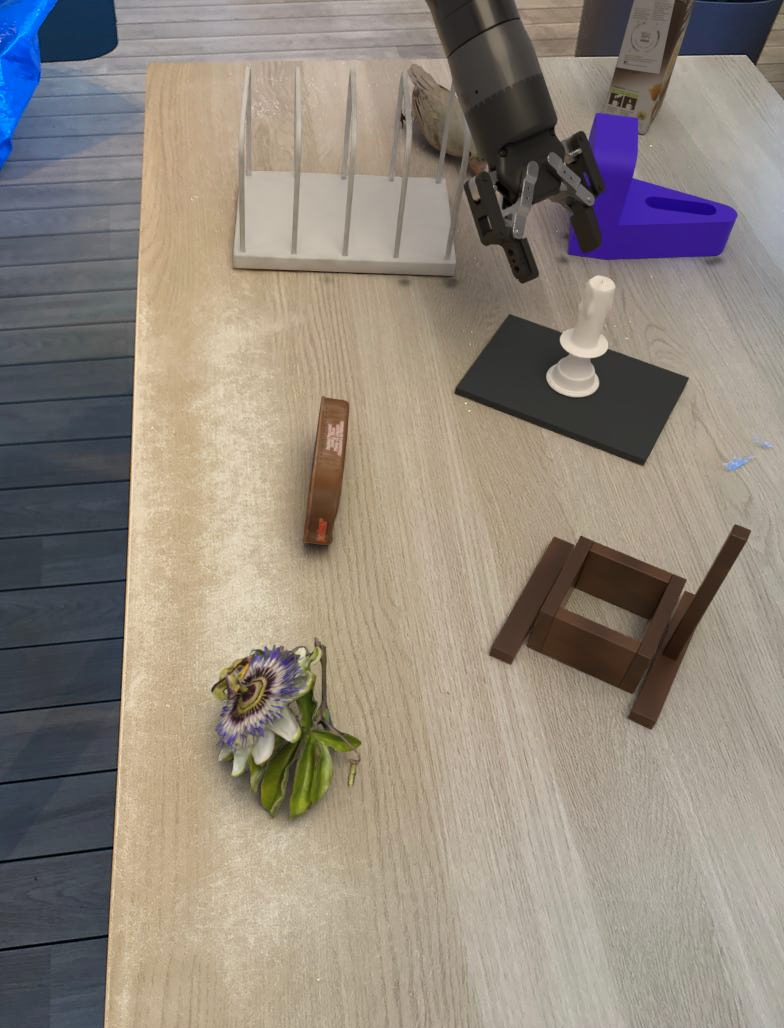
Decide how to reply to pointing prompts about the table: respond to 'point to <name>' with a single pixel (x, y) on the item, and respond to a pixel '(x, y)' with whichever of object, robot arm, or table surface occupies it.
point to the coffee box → (647, 58)
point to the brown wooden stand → (625, 588)
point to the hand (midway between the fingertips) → (562, 265)
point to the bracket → (646, 205)
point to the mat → (592, 419)
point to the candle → (584, 342)
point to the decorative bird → (439, 116)
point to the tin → (326, 471)
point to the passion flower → (280, 726)
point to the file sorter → (346, 206)
